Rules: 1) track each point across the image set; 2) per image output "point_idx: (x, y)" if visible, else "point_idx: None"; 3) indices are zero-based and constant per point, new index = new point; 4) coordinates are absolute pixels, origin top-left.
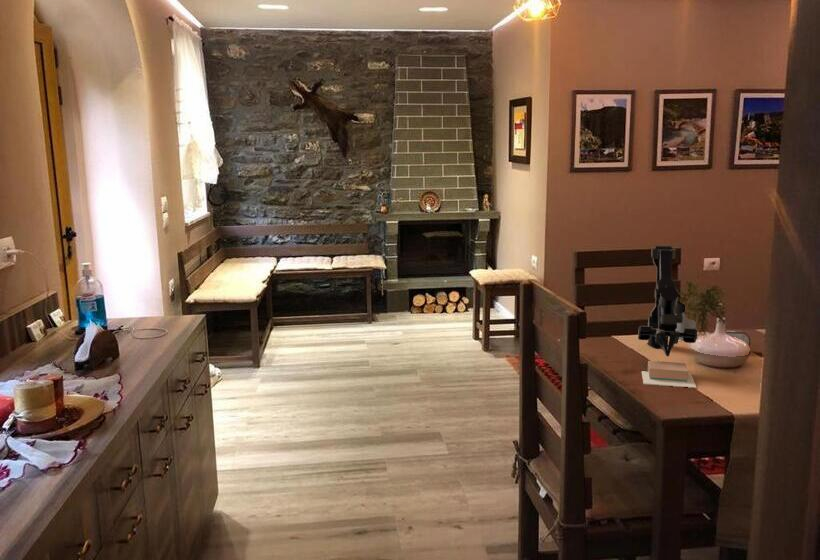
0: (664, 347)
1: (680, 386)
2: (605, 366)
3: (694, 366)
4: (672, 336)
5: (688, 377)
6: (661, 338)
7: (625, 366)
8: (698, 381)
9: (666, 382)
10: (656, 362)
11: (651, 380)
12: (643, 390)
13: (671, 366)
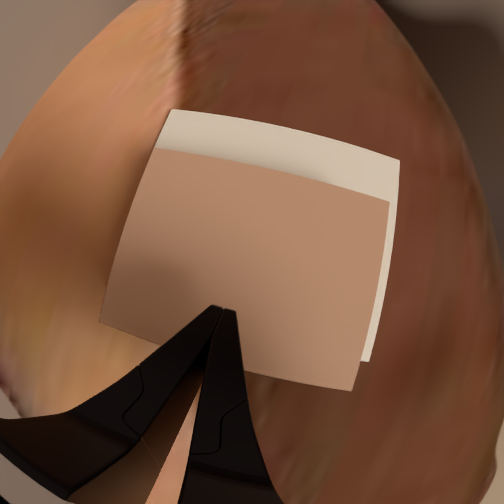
0: (242, 374)
1: (236, 118)
2: (479, 421)
3: None
4: (58, 452)
5: None
6: (267, 495)
7: (406, 445)
8: (113, 205)
9: (288, 164)
10: (304, 348)
11: None
12: (400, 103)
13: (222, 244)
